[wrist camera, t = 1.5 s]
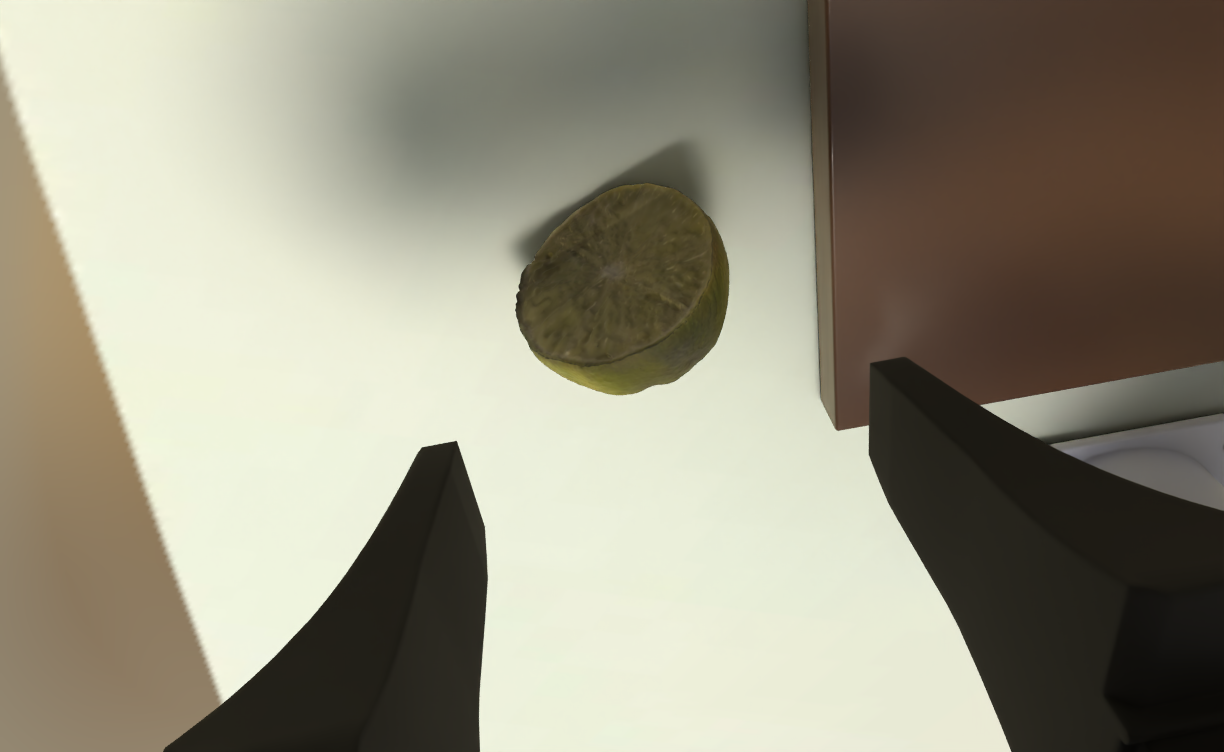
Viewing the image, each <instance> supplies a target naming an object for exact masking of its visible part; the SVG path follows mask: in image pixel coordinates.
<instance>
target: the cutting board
mask: <svg viewBox="0 0 1224 752" xmlns="http://www.w3.org/2000/svg"><path fill="white" fill-rule="evenodd" d="M807 8H808V37H809V65H810V94H811V122H812V151H813V179H814V208H815V236H816V265H817V293H818V322H819V350H820V379H821V401H822V403H823V405H824V407H825V409H826V411H827V413H828V415H829V417H830V419H831V421H832V423H833V425H834V427H835V429H836V430H838V431H839V430H845V429H851V428H856V427H862V426H867V425H869V389H870V363H873V362H878V361H883V360H889V359H894V358H899V357H907V358H908V359H910V360H911V361H913V362H914V363H916V364H917V365H919V366H920V367H922V368H923V369H925V370H926V371H928V372H929V373H931V374H932V375H934V376H935V377H937V378H938V379H940V380H941V381H943V382H944V383H946V384H947V385H949V386H950V387H952V388H953V389H955V390H956V391H958V392H959V393H961V394H963V395H964V396H966V397H967V398H969V399H970V400H972V401H973V402H975V403H977V404H978V405H983V404H988V403H994V402H999V401H1005V400H1010V399H1016V398H1021V397H1027V396H1032V395H1038V394H1043V393H1049V392H1054V391H1060V390H1066V389H1071V388H1077V387H1082V386H1088V385H1093V384H1099V383H1104V382H1110V381H1115V380H1121V379H1126V378H1132V377H1137V376H1143V375H1148V374H1154V373H1159V372H1165V371H1170V370H1176V369H1181V368H1187V367H1192V366H1198V365H1203V364H1209V363H1214V362H1220V361H1224V0H807Z"/></svg>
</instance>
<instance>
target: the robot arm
mask: <svg viewBox="0 0 1224 752" xmlns="http://www.w3.org/2000/svg"><path fill="white" fill-rule="evenodd" d="M869 456H870V459H871V461H872V464H873V467H874V469H875V472H876V474H877V477H878V479H879V482H880V484H881V487H882V489H883V491H884V494H885V496H886V498H887V501H888V503H889V505H890V507H891V509H892V510H893V512H894V514H895V516H896V517H897V519H898V521H899V523H900V524H901V526H902V528H903V530H904V531H905V533H906V535H907V537H908V538H909V540H910V542H911V544H912V545H913V547H914V549H915V550H916V552H917V554H918V556H919V557H920V559H921V561H922V562H923V564H924V566H925V568H926V569H927V571H928V573H929V574H930V576H931V578H932V580H933V581H934V583H935V585H936V586H937V588H938V590H939V592H940V593H941V595H942V597H943V598H944V600H945V602H946V604H947V605H948V607H949V609H950V611H951V613H952V615H953V617H954V619H955V621H956V623H957V625H958V627H959V629H960V631H961V633H962V635H963V638H964V640H965V642H966V645H967V647H968V649H969V651H970V654H971V656H972V658H973V660H974V663H975V665H976V667H977V669H978V672H979V674H980V676H981V679H982V681H983V683H984V686H985V688H986V690H987V693H988V695H989V698H990V700H991V702H992V705H993V707H994V710H995V712H996V714H997V717H998V719H999V722H1000V724H1001V726H1002V729H1003V731H1004V734H1005V736H1006V739H1007V742H1008V744H1009V747H1010V749H1011V752H1224V413H1221V414H1216V415H1210V416H1205V417H1199V418H1194V419H1188V420H1183V421H1177V422H1171V423H1166V424H1160V425H1155V426H1149V427H1144V428H1138V429H1133V430H1127V431H1122V432H1116V433H1111V434H1105V435H1099V436H1094V437H1088V438H1083V439H1077V440H1072V441H1066V442H1061V443H1055V444H1050V445H1048V444H1046V443H1044V442H1042V441H1040V440H1039V439H1037V438H1035V437H1033V436H1031V435H1029V434H1028V433H1026V432H1024V431H1022V430H1020V429H1018V428H1017V427H1015V426H1013V425H1011V424H1010V423H1008V422H1006V421H1004V420H1003V419H1001V418H999V417H998V416H996V415H994V414H993V413H991V412H989V411H988V410H986V409H985V408H983V407H981V406H980V405H978V404H977V403H975V402H973V401H972V400H970V399H969V398H967V397H966V396H964V395H963V394H961V393H959V392H958V391H956V390H955V389H953V388H952V387H950V386H949V385H947V384H946V383H944V382H943V381H941V380H940V379H938V378H937V377H935V376H934V375H932V374H931V373H929V372H928V371H926V370H925V369H923V368H922V367H920V366H919V365H917V364H916V363H914V362H913V361H911V360H910V359H908V358H907V357H899V358H894V359H889V360H883V361H878V362H873V363H870V389H869ZM487 582H488V575H487V554H486V538H485V526H484V523H483V520H482V517H481V514H480V511H479V508H478V505H477V502H476V498H475V495H474V492H473V489H472V486H471V483H470V480H469V477H468V474H467V471H466V468H465V465H464V462H463V459H462V456H461V452H460V449H459V446H458V443H457V441H454V442H448V443H443V444H438V445H433V446H427V447H422V448H421V450H420V451H419V452H418V454H417V455H416V457H415V459H414V461H413V463H412V465H411V467H410V469H409V471H408V473H407V475H406V476H405V478H404V480H403V482H402V484H401V486H400V488H399V489H398V491H397V493H396V495H395V497H394V498H393V500H392V502H391V504H390V506H389V507H388V509H387V511H386V512H385V514H384V516H383V517H382V519H381V521H380V522H379V524H378V526H377V528H376V529H375V531H374V533H373V534H372V536H371V537H370V539H369V541H368V542H367V544H366V545H365V547H364V548H363V549H362V551H361V552H360V554H359V555H358V557H357V558H356V560H355V561H354V563H353V564H352V566H351V567H350V569H349V570H348V572H347V573H346V575H345V576H344V577H343V579H342V580H341V581H340V583H339V584H338V585H337V587H336V588H335V589H334V591H333V592H332V593H331V595H330V596H329V597H328V598H327V600H326V601H325V602H324V603H323V605H322V606H321V607H320V608H319V609H318V611H317V612H316V613H315V614H314V615H313V617H312V618H311V619H310V620H309V621H308V622H307V623H306V624H305V625H304V626H303V627H302V629H301V630H300V631H299V632H298V633H297V634H296V635H295V636H294V637H293V638H292V639H291V640H290V641H289V642H288V643H287V644H286V645H285V646H284V647H283V649H282V650H281V651H280V652H279V653H278V654H277V655H276V656H275V657H274V658H273V659H272V660H271V661H270V662H269V663H268V664H267V665H266V666H264V667H263V668H262V669H261V670H260V671H259V672H258V673H257V674H256V675H255V676H254V677H253V678H252V679H251V680H249V681H248V682H247V683H246V684H245V685H244V686H243V687H241V688H240V689H239V690H238V691H237V692H236V693H235V694H233V695H232V696H231V697H230V698H229V699H228V700H226V701H225V702H224V703H223V704H222V705H220V706H219V707H218V708H217V709H215V710H214V711H213V712H212V713H210V714H209V715H208V716H206V717H205V718H204V719H203V720H201V721H200V722H199V723H197V724H196V725H195V726H193V727H192V728H191V729H190V730H188V731H187V732H186V733H184V734H183V735H182V736H181V737H179V738H178V739H177V740H175V741H174V742H173V743H171V744H170V745H168V746H167V747H165V749H164V751H163V752H480V739H479V692H480V679H481V666H482V652H483V639H484V626H485V612H486V598H487Z"/></svg>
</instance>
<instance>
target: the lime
mask: <svg viewBox="0 0 1224 752" xmlns="http://www.w3.org/2000/svg"><path fill="white" fill-rule="evenodd" d="M534 258H535V260H534V261H532V263H531V264H529V265H527V267H526V268H525V269H524V271H523V272H522V274H521V280H520V284H519V290H520V291H519V292H518V293H517V294H516V298H517V303H516V309H515V311H516V317H517V319H518V323H519V327H520V331H521V332H522V334H523V336H524V337H525V339H526V340H527V342H528V345H529V347H530V349H531V351H532V352H533V353H534V355H535V356H536V357H537V358H538V359H539V360H540V361H541V362H542V363H543V364H544V365H545V366H547V367H548V368H550V369H551V370H553V371H554V372H556V373H557V374H559V375H561V376H562V377H564V378H567V379H568V380H570V381H572V382H575V383H577V384H579V385H582V386H585V387H587V388H590V389H593V390H596V391H600V392H603V393H606V394H612V395H627V394H634V393H638V392H640V391H642V390H644V389H646V388H648V387H651V386H654V385H662V384H668V383H671V382H674V381H676V380H678V379H679V378H680V377H681V376H683V375H684V374H685V373H687V372H688V371H689V370H690V369H691V368H692V367H693V366H694V365H696V364H697V363H698V362H699V361H700V360H702V359H703V358H704V357H705V356H706V355H707V353H709V352H710V350H711V349H712V348H713V347H714V346H715V344H716V342H717V340H718V337H719V335H720V332H721V330H722V326H723V323H724V319H725V315H726V309H727V305H728V295H729V264H728V259H727V254H726V251H725V248H724V245H723V241H722V239H721V236H720V234H719V232H718V230H717V228H716V227H715V225H714V223H713V221H712V220H711V218H710V217H709V216H707V215H706V214H705V213H704V211H703V210H702V209H701V208H700V207H699V206H698V205H697V204H696V203H695V202H694V201H692V200H691V199H689V198H688V197H687V196H685V195H683V193H681V192H680V191H678V190H676V189H673V188H670V187H663V186H658V185H655V184H650V183H644V184H642V185H641V184H636V185H623V186H619V187H617V188H614V189H611V190H608V191H607V192H605V193H603V194H601V195H599V196H598V197H597V198H595V199H594V200H592V201H591V202H589V203H587V204H586V205H584V206H582V207H581V208H579V209H578V210H576V211H575V212H574V213H573V214H572V215H570V216H569V217H568V218H567V219H566V220H565V221H564V222H563V223H562V224H561V225H560V226H558V227H557V228H556V229H555V230H554V231H553V232H552V233H551V234H550V235H549V237H548V238H547V240H546V241H545V242H544V244H543V245H542V247H541V248H540V249H539V250H538V251H537V253H536V255H535V256H534Z"/></svg>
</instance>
